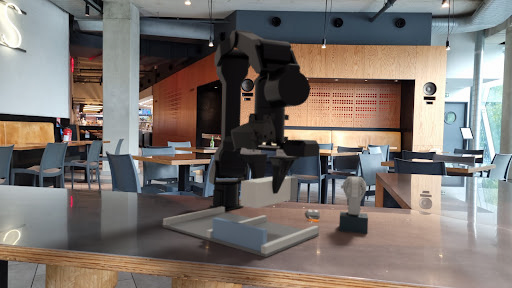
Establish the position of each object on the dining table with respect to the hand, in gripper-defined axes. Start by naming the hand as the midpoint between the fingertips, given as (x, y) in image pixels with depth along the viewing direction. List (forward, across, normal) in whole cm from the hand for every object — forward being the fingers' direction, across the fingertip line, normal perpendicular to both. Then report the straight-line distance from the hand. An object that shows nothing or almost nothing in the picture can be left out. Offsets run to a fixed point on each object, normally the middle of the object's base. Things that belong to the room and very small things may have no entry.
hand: (267, 192), depth 71 cm
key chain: (+9, -1, +19) cm, 21 cm away
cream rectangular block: (+2, 0, 0) cm, 2 cm away
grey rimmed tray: (+8, -6, 0) cm, 10 cm away
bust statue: (+9, +10, +17) cm, 22 cm away
